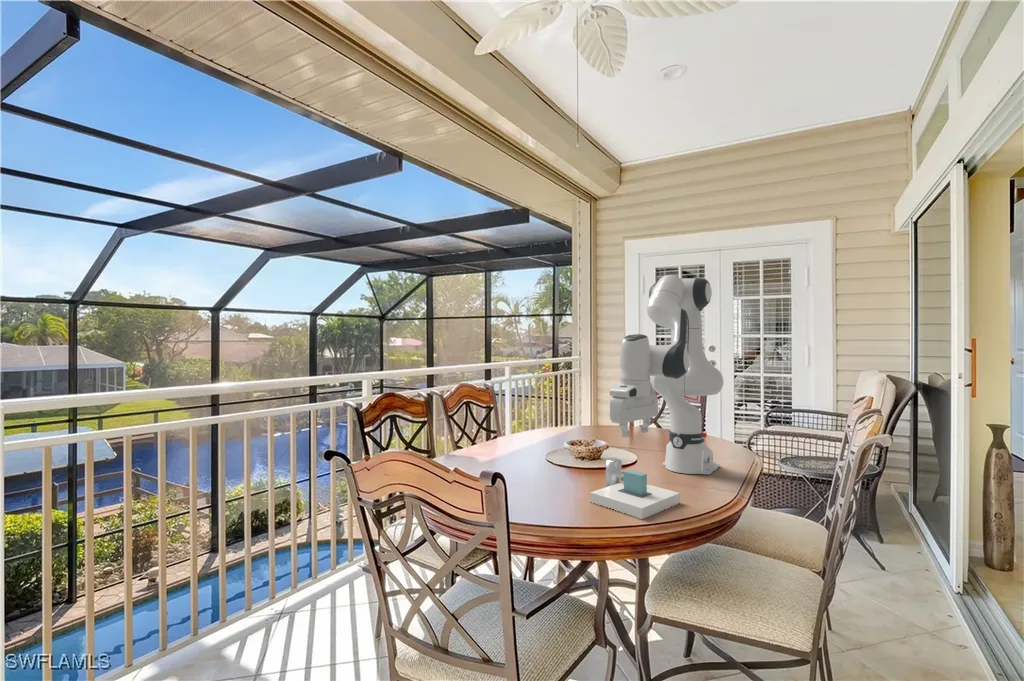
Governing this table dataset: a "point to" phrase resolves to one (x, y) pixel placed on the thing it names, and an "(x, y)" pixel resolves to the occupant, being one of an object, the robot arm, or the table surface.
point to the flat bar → (635, 483)
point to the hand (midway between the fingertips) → (635, 434)
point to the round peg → (613, 471)
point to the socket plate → (635, 500)
